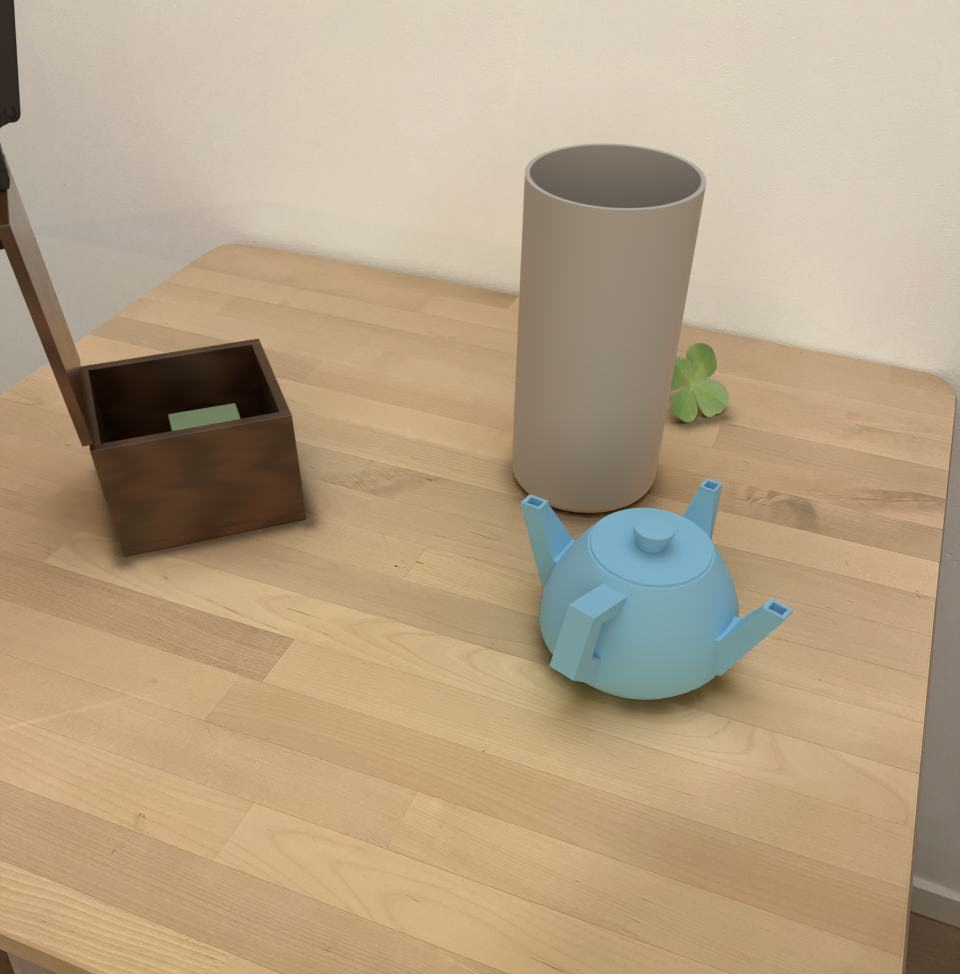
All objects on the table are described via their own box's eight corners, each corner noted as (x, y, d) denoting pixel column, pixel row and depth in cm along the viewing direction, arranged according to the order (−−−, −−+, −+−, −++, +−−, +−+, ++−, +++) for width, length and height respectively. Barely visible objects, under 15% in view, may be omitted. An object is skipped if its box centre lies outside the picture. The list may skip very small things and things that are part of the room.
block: (181, 470, 83) (167, 414, 79) (245, 458, 84) (235, 402, 80) (190, 507, 79) (176, 450, 75) (257, 494, 80) (247, 437, 76)
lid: (4, 153, 66) (-8, 155, 65) (9, 224, 57) (-5, 226, 57) (80, 360, 77) (70, 362, 77) (94, 444, 68) (82, 447, 68)
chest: (274, 437, 88) (258, 337, 81) (306, 518, 79) (292, 415, 72) (108, 468, 84) (76, 366, 77) (123, 557, 76) (90, 451, 69)
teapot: (511, 578, 75) (517, 462, 67) (699, 562, 76) (726, 447, 69) (550, 730, 64) (562, 612, 56) (767, 707, 66) (808, 590, 58)
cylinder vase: (662, 519, 80) (720, 211, 62) (512, 516, 80) (527, 208, 62) (646, 435, 89) (692, 145, 71) (510, 432, 89) (522, 142, 71)
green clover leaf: (670, 441, 97) (714, 439, 91) (612, 402, 93) (655, 397, 87) (697, 377, 98) (743, 371, 92) (641, 335, 94) (685, 326, 88)
